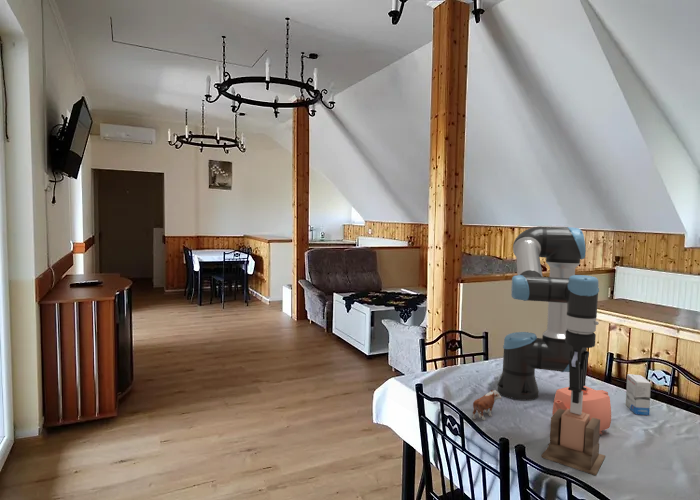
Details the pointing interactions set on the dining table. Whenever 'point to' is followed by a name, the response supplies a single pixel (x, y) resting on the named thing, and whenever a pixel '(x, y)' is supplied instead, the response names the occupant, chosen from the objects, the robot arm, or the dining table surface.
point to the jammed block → (573, 430)
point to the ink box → (638, 394)
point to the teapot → (587, 404)
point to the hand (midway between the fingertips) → (575, 412)
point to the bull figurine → (485, 403)
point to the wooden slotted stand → (573, 458)
